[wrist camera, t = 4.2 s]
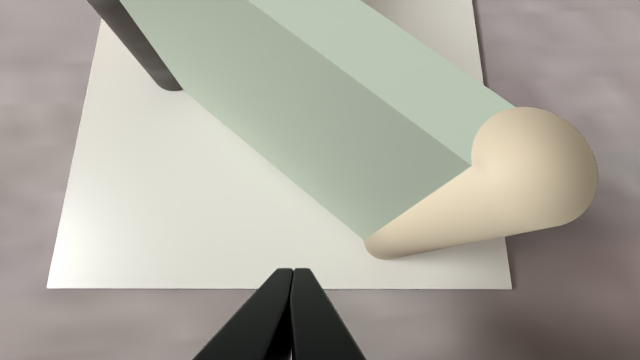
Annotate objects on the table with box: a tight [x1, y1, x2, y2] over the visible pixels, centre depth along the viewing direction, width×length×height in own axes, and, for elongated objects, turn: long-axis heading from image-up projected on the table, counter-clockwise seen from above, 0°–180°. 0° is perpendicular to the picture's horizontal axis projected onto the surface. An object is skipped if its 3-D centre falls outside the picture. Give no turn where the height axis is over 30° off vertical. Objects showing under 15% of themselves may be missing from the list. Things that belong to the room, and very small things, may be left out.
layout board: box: [47, 0, 512, 289], centre depth 19 cm, size 27×21×1 cm
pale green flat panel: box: [120, 0, 598, 260], centre depth 11 cm, size 2×13×11 cm, turn 50°
